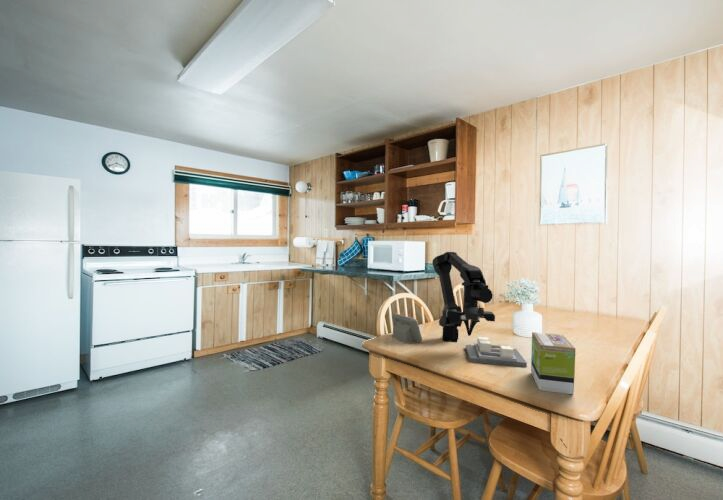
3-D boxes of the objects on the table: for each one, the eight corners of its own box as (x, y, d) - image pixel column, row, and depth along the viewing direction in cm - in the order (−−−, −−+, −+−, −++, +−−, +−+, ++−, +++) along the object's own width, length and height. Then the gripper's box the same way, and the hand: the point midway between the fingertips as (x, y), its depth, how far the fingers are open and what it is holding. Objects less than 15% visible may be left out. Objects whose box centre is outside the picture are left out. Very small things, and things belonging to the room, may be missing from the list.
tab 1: (478, 349, 142) (478, 339, 141) (477, 346, 145) (477, 336, 145) (488, 349, 141) (489, 340, 141) (487, 347, 144) (487, 337, 144)
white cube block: (480, 353, 137) (480, 343, 137) (478, 350, 140) (479, 340, 140) (490, 354, 136) (491, 343, 136) (489, 351, 139) (489, 341, 139)
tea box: (529, 372, 123) (531, 330, 122) (561, 376, 120) (563, 333, 119) (538, 390, 108) (540, 343, 108) (574, 395, 105) (577, 347, 105)
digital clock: (423, 343, 153) (424, 319, 153) (406, 345, 150) (406, 320, 149) (404, 333, 168) (405, 311, 168) (387, 334, 164) (388, 312, 164)
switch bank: (469, 361, 132) (470, 355, 131) (465, 348, 147) (465, 342, 147) (526, 366, 128) (526, 360, 128) (516, 352, 143) (516, 346, 143)
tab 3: (501, 359, 130) (502, 348, 130) (499, 355, 134) (500, 345, 134) (513, 360, 130) (513, 349, 130) (510, 356, 133) (511, 346, 133)
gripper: (448, 300, 137) (446, 339, 138) (498, 303, 133) (496, 343, 134) (447, 295, 148) (445, 331, 149) (493, 298, 144) (491, 335, 145)
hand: (469, 335), depth 144 cm, fingers closed
